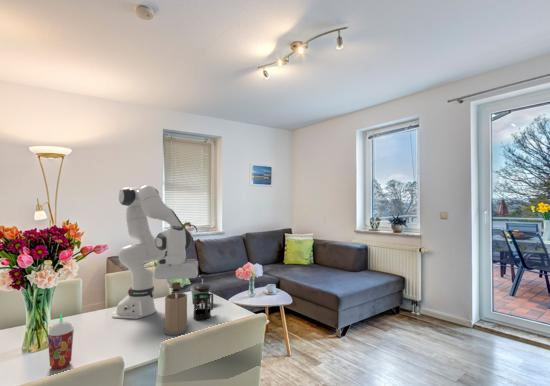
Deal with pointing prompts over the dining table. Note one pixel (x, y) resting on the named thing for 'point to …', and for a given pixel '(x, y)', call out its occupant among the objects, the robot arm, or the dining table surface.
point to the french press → (202, 308)
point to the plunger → (176, 288)
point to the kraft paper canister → (175, 314)
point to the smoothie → (60, 343)
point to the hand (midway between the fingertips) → (176, 287)
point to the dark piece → (197, 293)
